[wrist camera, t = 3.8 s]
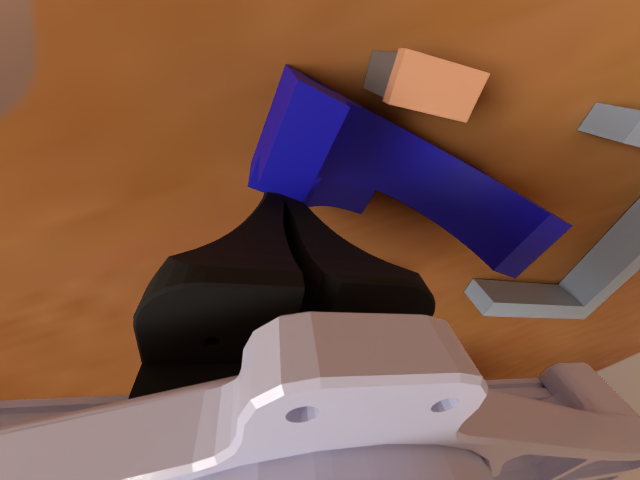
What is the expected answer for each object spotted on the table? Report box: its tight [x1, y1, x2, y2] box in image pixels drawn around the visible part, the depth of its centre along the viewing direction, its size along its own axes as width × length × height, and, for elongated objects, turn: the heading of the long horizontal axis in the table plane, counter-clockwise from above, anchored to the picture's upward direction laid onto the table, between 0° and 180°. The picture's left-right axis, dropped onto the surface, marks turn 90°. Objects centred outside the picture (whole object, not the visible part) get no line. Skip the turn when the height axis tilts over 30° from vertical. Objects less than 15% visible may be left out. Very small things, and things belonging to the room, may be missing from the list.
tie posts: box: [363, 48, 490, 123], centre depth 14 cm, size 13×3×4 cm, turn 167°
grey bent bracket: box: [464, 102, 640, 319], centre depth 18 cm, size 14×10×2 cm
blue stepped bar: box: [248, 64, 572, 278], centre depth 12 cm, size 12×4×6 cm, turn 64°
